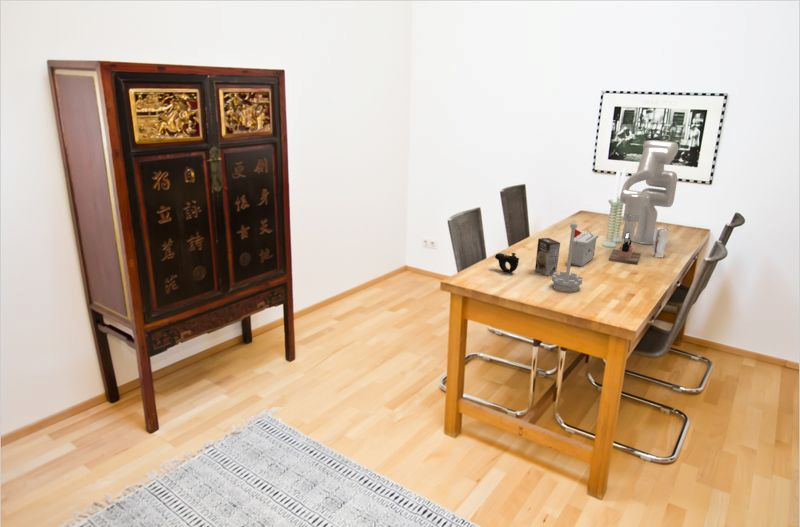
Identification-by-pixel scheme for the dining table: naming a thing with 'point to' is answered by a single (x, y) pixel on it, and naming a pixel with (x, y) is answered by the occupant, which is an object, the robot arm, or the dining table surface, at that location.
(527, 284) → the dining table surface
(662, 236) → the beer glass
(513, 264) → the controller
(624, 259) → the brown peg stand
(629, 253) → the bead
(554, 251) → the coffee box
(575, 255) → the stereo radio cassette player
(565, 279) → the flag stand
